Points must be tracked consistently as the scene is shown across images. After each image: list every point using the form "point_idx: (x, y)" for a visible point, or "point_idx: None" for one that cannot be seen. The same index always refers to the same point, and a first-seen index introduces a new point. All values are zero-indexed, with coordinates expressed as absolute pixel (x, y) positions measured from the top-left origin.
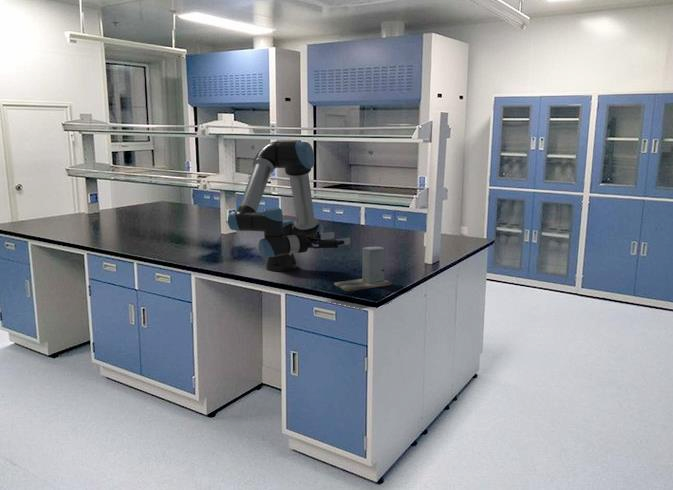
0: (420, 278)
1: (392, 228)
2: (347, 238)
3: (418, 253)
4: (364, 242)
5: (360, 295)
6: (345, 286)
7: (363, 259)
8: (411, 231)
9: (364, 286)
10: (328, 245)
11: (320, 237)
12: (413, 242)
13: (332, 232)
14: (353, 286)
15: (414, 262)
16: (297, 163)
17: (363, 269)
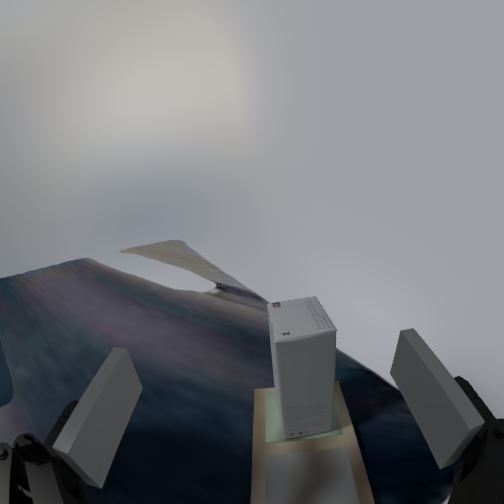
0: None
1: (53, 265)
2: (424, 343)
3: (152, 282)
4: (45, 297)
5: (431, 480)
6: None
7: (288, 382)
8: (79, 260)
9: (358, 454)
10: None
11: (81, 474)
12: (107, 271)
13: (120, 359)
14: (350, 487)
15: (190, 300)
16: None
17: (291, 412)
